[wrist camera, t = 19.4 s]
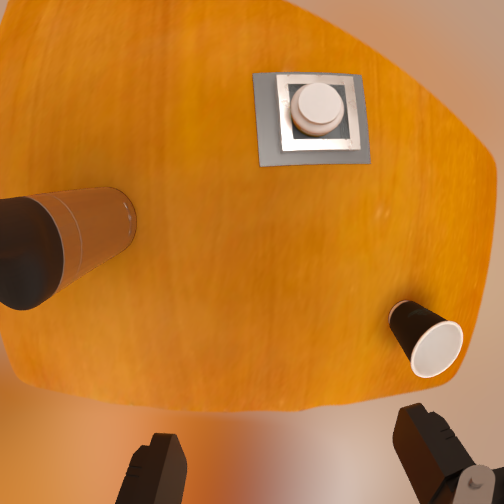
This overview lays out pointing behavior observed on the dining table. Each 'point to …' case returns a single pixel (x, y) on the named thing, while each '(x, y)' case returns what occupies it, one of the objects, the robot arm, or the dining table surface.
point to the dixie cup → (425, 338)
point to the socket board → (294, 142)
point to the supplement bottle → (316, 109)
